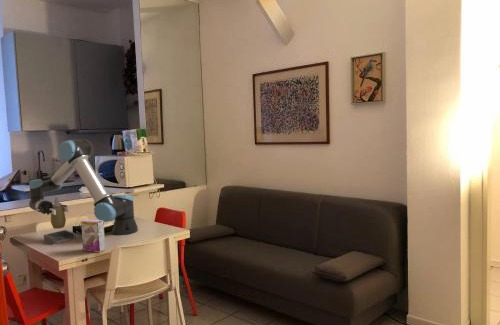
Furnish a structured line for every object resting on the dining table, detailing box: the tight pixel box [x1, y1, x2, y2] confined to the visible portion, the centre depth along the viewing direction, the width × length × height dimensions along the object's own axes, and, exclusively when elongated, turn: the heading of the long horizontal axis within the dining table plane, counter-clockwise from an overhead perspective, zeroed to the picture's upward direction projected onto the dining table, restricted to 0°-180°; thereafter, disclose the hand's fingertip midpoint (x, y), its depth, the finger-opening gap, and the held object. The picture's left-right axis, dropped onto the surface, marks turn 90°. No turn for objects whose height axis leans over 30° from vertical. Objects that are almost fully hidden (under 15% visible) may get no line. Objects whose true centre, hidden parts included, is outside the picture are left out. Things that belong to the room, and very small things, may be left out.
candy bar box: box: [80, 219, 106, 252], centre depth 225 cm, size 11×5×16 cm, turn 71°
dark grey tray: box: [43, 229, 77, 245], centre depth 248 cm, size 13×13×4 cm
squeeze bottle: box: [50, 196, 67, 230], centre depth 247 cm, size 8×8×18 cm
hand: (61, 211), depth 243 cm, fingers closed on squeeze bottle, 6 cm apart
